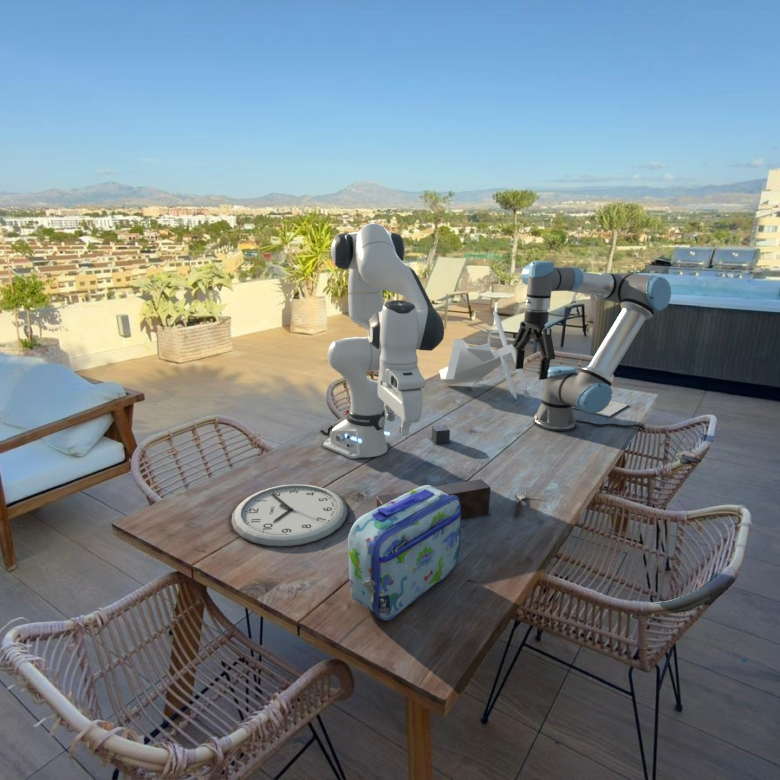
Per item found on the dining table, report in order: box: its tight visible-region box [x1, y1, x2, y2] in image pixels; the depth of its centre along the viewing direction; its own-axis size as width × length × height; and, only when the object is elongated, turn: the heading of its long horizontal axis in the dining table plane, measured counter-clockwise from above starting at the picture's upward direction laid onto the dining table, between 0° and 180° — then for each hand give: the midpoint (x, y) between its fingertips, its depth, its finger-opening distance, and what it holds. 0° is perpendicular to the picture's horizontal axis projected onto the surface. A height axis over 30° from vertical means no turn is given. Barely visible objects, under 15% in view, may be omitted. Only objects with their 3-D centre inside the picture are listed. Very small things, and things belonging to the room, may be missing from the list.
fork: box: [515, 484, 528, 518], centre depth 145 cm, size 3×16×2 cm, turn 160°
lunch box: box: [347, 484, 462, 621], centre depth 107 cm, size 26×11×21 cm, turn 134°
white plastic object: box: [438, 310, 531, 400], centre depth 245 cm, size 37×45×31 cm
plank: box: [376, 478, 491, 520], centre depth 136 cm, size 30×5×8 cm, turn 110°
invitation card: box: [573, 400, 629, 418], centre depth 226 cm, size 21×1×15 cm
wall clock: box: [231, 483, 348, 547], centre depth 138 cm, size 30×2×30 cm
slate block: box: [431, 424, 451, 445], centre depth 186 cm, size 5×5×5 cm
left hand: (396, 427), depth 126 cm, fingers open, 8 cm apart
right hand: (530, 373), depth 175 cm, fingers open, 13 cm apart
